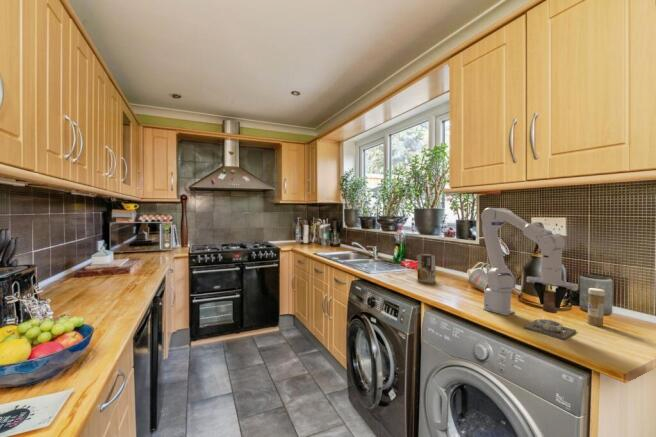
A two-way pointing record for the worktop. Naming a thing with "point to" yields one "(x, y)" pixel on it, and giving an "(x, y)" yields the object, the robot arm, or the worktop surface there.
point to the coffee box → (426, 268)
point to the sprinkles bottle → (596, 306)
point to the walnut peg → (549, 301)
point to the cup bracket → (550, 328)
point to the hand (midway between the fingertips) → (550, 305)
